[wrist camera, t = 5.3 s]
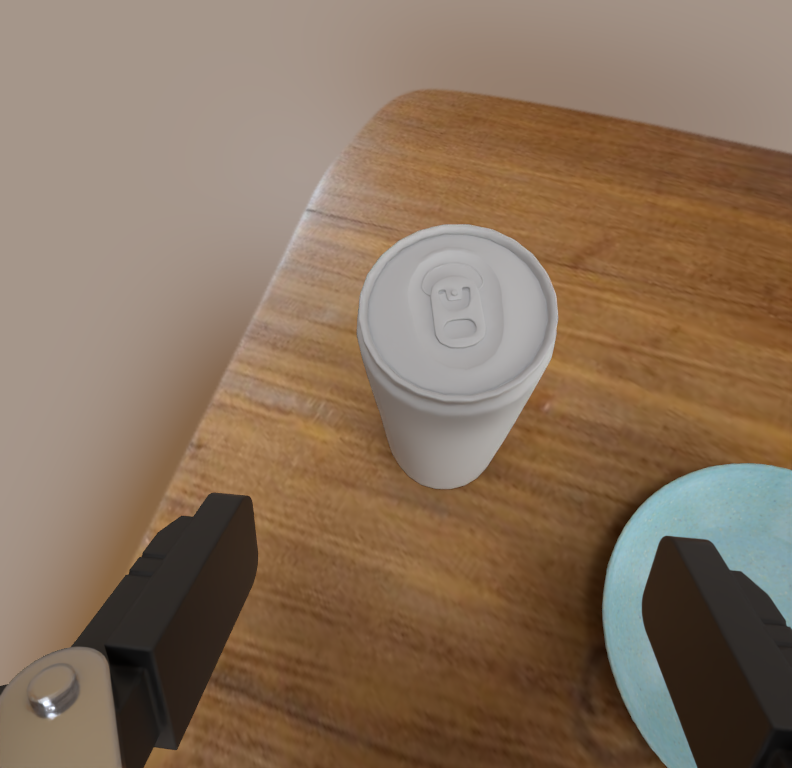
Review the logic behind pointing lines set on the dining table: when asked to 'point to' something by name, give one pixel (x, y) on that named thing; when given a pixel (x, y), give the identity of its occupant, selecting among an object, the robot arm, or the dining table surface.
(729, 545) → the saucer
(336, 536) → the dining table surface
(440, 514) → the dining table surface
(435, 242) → the beverage can
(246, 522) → the robot arm
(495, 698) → the dining table surface
